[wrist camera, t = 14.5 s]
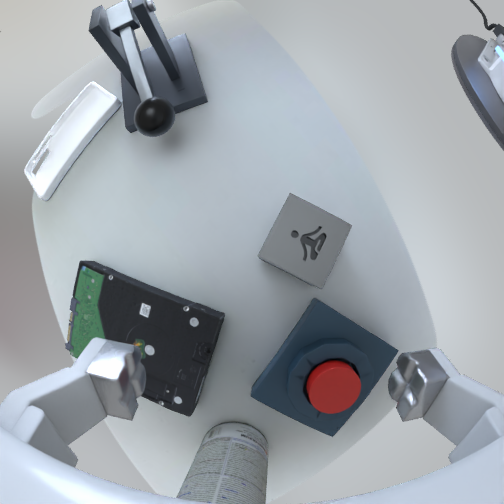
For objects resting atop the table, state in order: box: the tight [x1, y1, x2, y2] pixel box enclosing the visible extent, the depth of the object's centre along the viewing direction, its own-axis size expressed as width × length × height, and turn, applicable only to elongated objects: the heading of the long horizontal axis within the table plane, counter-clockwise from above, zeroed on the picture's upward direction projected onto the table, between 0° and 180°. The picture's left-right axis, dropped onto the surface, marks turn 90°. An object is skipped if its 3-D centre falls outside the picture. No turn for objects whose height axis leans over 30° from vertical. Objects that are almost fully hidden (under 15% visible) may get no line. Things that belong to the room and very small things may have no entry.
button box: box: [251, 298, 398, 437], centre depth 21 cm, size 10×9×4 cm
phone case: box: [24, 82, 121, 201], centre depth 26 cm, size 7×1×15 cm
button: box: [306, 360, 361, 414], centre depth 18 cm, size 4×4×2 cm
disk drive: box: [65, 261, 225, 416], centre depth 23 cm, size 10×3×15 cm
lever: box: [105, 0, 175, 137], centre depth 18 cm, size 14×4×4 cm
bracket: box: [89, 0, 208, 133], centre depth 20 cm, size 12×9×13 cm
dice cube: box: [258, 193, 352, 289], centre depth 21 cm, size 5×5×5 cm
